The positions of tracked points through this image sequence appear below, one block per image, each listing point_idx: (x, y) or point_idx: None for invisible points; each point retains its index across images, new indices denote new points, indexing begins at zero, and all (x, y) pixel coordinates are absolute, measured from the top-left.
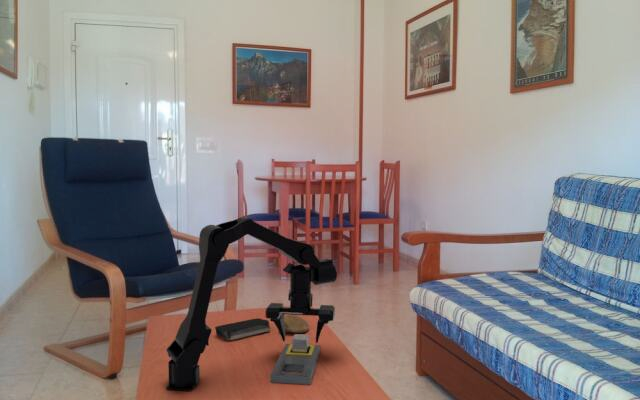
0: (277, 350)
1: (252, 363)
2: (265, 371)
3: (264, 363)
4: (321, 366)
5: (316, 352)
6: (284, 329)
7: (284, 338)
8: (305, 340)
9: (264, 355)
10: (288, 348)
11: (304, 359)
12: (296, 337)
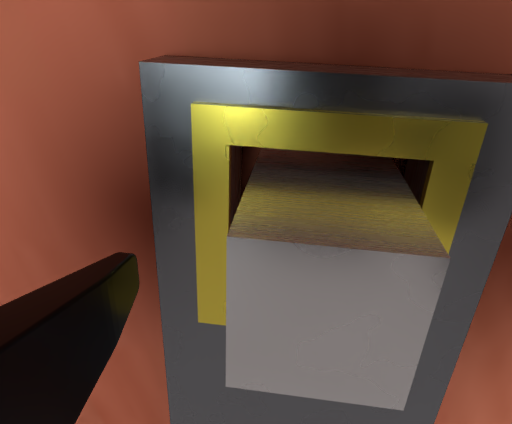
0: (90, 60)
1: (16, 297)
2: (130, 385)
3: None
4: (473, 343)
5: (474, 275)
6: (52, 351)
7: (125, 320)
8: (386, 401)
9: (30, 176)
10: (199, 221)
11: None
12: (268, 346)
